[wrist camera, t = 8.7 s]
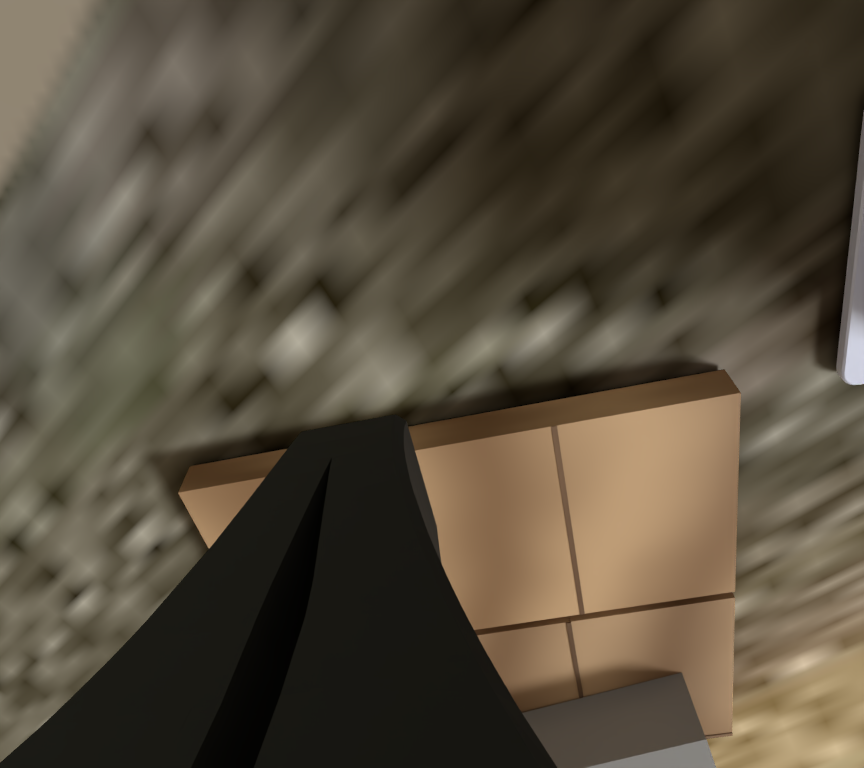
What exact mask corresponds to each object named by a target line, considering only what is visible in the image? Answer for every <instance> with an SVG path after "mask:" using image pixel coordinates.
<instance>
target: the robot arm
mask: <svg viewBox="0 0 864 768" xmlns="http://www.w3.org/2000/svg"><path fill="white" fill-rule="evenodd" d="M836 370H837V374H838V375H839V376H840V377H841V378H842V379H843V380H844V381H845V382H846V383H848V384H851V385H860V384H864V112H863V122H862V131H861V140H860V150H859V159H858V168H857V178H856V187H855V196H854V206H853V215H852V224H851V234H850V243H849V252H848V262H847V271H846V281H845V290H844V299H843V309H842V318H841V327H840V337H839V346H838V355H837V365H836ZM0 768H557V766H556V765H555V763H554V762H553V760H552V758H551V757H550V755H549V754H548V752H547V751H546V749H545V748H544V746H543V745H542V743H541V741H540V740H539V738H538V737H537V735H536V734H535V732H534V731H533V729H532V728H531V726H530V724H529V723H528V721H527V720H526V718H525V717H524V715H523V714H522V712H521V710H520V709H519V707H518V706H517V704H516V702H515V701H514V699H513V697H512V696H511V694H510V692H509V691H508V689H507V687H506V685H505V684H504V682H503V680H502V679H501V677H500V675H499V673H498V672H497V670H496V668H495V667H494V665H493V663H492V661H491V660H490V658H489V656H488V655H487V653H486V651H485V649H484V647H483V645H482V644H481V642H480V640H479V638H478V636H477V634H476V632H475V631H474V629H473V627H472V625H471V623H470V621H469V620H468V618H467V616H466V614H465V612H464V610H463V608H462V606H461V604H460V602H459V600H458V598H457V596H456V594H455V592H454V590H453V588H452V586H451V584H450V581H449V579H448V577H447V575H446V573H445V570H444V568H443V566H442V562H441V556H440V549H439V540H438V532H437V525H436V521H435V518H434V515H433V511H432V508H431V504H430V501H429V497H428V494H427V490H426V487H425V483H424V480H423V477H422V473H421V470H420V466H419V463H418V459H417V456H416V452H415V449H414V445H413V442H412V439H411V435H410V432H409V428H408V425H407V421H406V420H404V419H402V418H401V417H399V416H397V415H396V414H395V415H390V416H384V417H379V418H373V419H368V420H363V421H357V422H352V423H346V424H341V425H335V426H330V427H325V428H319V429H314V430H308V431H303V432H301V433H300V434H299V435H298V437H297V438H296V439H295V440H294V441H293V443H292V444H291V445H290V446H289V448H288V449H287V450H286V451H285V453H284V454H283V455H282V456H281V458H280V459H279V460H278V462H277V463H276V464H275V466H274V467H273V468H272V470H271V471H270V472H269V473H268V475H267V476H266V477H265V479H264V480H263V481H262V483H261V484H260V485H259V486H258V488H257V489H256V490H255V492H254V493H253V494H252V496H251V497H250V498H249V499H248V501H247V502H246V503H245V504H244V506H243V507H242V508H241V509H240V511H239V512H238V513H237V515H236V516H235V517H234V518H233V520H232V521H231V522H230V523H229V525H228V526H227V527H226V528H225V530H224V531H223V532H222V533H221V535H220V536H219V537H218V539H217V540H216V541H215V542H214V544H213V545H212V546H211V547H210V548H209V550H208V551H207V552H206V553H205V554H204V555H203V557H202V558H201V559H200V560H199V561H198V562H197V564H196V565H195V566H194V567H193V568H192V569H191V570H190V572H189V573H188V574H187V575H186V576H185V577H184V578H183V580H182V581H181V582H180V583H179V584H178V585H177V587H176V588H175V589H174V590H173V591H172V592H171V593H170V595H169V596H168V597H167V598H166V599H165V600H164V601H163V603H162V604H161V605H160V606H159V607H158V608H157V610H156V611H155V612H154V613H153V614H152V615H151V616H150V618H149V619H148V620H147V621H146V622H145V623H144V624H143V625H142V626H141V627H140V629H139V630H138V631H137V632H136V633H135V634H134V635H133V636H132V637H131V638H130V639H129V640H128V641H127V642H126V643H125V644H124V645H123V647H122V648H121V649H120V650H119V651H118V652H117V653H116V654H115V655H114V656H113V657H112V658H111V659H110V660H109V661H108V662H107V663H106V664H105V665H104V666H103V667H102V668H101V669H100V670H99V671H98V672H97V673H96V674H95V675H94V676H93V677H92V678H91V679H90V680H89V681H88V682H87V683H86V684H85V685H84V686H83V687H82V688H81V689H80V690H79V691H78V692H77V693H76V694H75V695H74V696H73V697H72V698H71V699H70V700H68V701H67V702H66V703H65V704H64V705H63V706H62V707H61V708H60V709H59V710H58V711H57V712H56V713H55V714H54V715H53V716H52V717H51V718H50V719H49V720H48V721H47V722H45V723H44V724H43V725H42V726H41V727H40V728H39V729H38V730H37V731H36V732H34V733H33V734H32V735H31V736H30V737H29V738H28V739H27V740H25V741H24V742H23V743H22V744H21V745H20V746H19V747H17V748H16V749H15V750H14V751H13V752H12V753H11V754H10V755H8V756H7V757H6V758H5V759H4V760H3V761H2V762H0Z"/></svg>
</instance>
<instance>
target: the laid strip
mask: <svg viewBox="0 0 864 768" xmlns="http://www.w3.org/2000/svg"><path fill="white" fill-rule="evenodd" d="M734 614H735V597H734V595H733V593H732V592H728V593H722V594H715V595H708V596H701V597H695V598H688V599H681V600H674V601H668V602H661V603H654V604H647V605H640V606H634V607H627V608H620V609H613V610H607V611H600V612H593V613H586V614H583V615H580V614H579V615H573V616H566V617H559V618H552V619H546V620H539V621H532V622H525V623H519V624H512V625H505V626H498V627H491V628H485V629H478V630H474V631H475V632H476V634H477V636H478V638H479V640H480V642H481V644H482V645H483V647H484V649H485V651H486V653H487V655H488V656H489V658H490V660H491V661H492V663H493V665H494V667H495V668H496V670H497V672H498V673H499V675H500V677H501V679H502V680H503V682H504V684H505V685H506V687H507V689H508V691H509V692H510V694H511V696H512V697H513V699H514V701H515V702H516V704H517V706H518V707H519V709H520V710H521V712H522V713H524V712H528V711H532V710H536V709H539V708H543V707H547V706H551V705H555V704H559V703H563V702H567V701H571V700H575V699H579V698H583V697H587V696H591V695H595V694H599V693H603V692H607V691H611V690H615V689H619V688H622V687H626V686H630V685H634V684H638V683H642V682H646V681H650V680H654V679H658V678H662V677H666V676H670V675H674V674H678V673H682V674H683V677H684V680H685V682H686V685H687V688H688V691H689V693H690V696H691V699H692V702H693V704H694V707H695V710H696V713H697V715H698V718H699V721H700V724H701V726H702V729H703V732H704V735H705V737H706V739H708V738H716V737H724V736H732V709H733V662H734Z"/></svg>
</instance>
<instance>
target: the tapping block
mask: <svg viewBox="0 0 864 768" xmlns="http://www.w3.org/2000/svg"><path fill="white" fill-rule="evenodd" d="M522 714H523V715H524V717H525V718H526V720H527V721H528V723H529V724H530V726H531V728H532V729H533V731H534V732H535V734H536V735H537V737H538V738H539V740H540V741H541V743H542V745H543V746H544V748H545V749H546V751H547V752H548V754H549V755H550V757H551V758H552V760H553V762H554V763H555V765H556V766H557V768H716V766H715V763H714V760H713V757H712V754H711V752H710V749H709V746H708V743H707V740H706V737H705V735H704V732H703V729H702V726H701V724H700V721H699V718H698V715H697V713H696V710H695V707H694V704H693V702H692V699H691V696H690V693H689V691H688V688H687V685H686V682H685V680H684V677H683V674H682V673H678V674H674V675H670V676H666V677H662V678H658V679H654V680H650V681H646V682H642V683H638V684H634V685H630V686H626V687H622V688H619V689H615V690H611V691H607V692H603V693H599V694H595V695H591V696H587V697H583V698H579V699H575V700H571V701H567V702H563V703H559V704H555V705H551V706H547V707H543V708H539V709H536V710H532V711H528V712H524V713H522Z"/></svg>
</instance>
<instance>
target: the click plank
mask: <svg viewBox="0 0 864 768" xmlns="http://www.w3.org/2000/svg"><path fill="white" fill-rule="evenodd" d="M740 400H741V393H740V391H739V390H738V388H737V387H736V385H735V384H734V382H733V381H732V380H731V378H730V377H729V375H728V374H727V372H726V371H725V370H724V369H723V370H718V371H712V372H707V373H701V374H696V375H690V376H685V377H679V378H674V379H668V380H663V381H657V382H652V383H646V384H641V385H635V386H630V387H624V388H619V389H613V390H608V391H602V392H597V393H591V394H586V395H580V396H575V397H569V398H564V399H558V400H553V401H547V402H542V403H536V404H530V405H525V406H519V407H514V408H508V409H503V410H497V411H492V412H486V413H481V414H475V415H470V416H464V417H459V418H453V419H448V420H442V421H437V422H431V423H426V424H420V425H415V426H409V427H408V428H409V432H410V435H411V439H412V442H413V445H414V449H415V452H416V456H417V459H418V463H419V466H420V470H421V473H422V477H423V480H424V483H425V487H426V490H427V494H428V497H429V501H430V504H431V508H432V511H433V515H434V518H435V521H436V525H437V532H438V540H439V549H440V556H441V562H442V566H443V568H444V570H445V573H446V575H447V577H448V579H449V581H450V584H451V586H452V588H453V590H454V592H455V594H456V596H457V598H458V600H459V602H460V604H461V606H462V608H463V610H464V612H465V614H466V616H467V618H468V620H469V621H470V623H471V625H472V627H473V629H474V630H478V629H485V628H491V627H498V626H505V625H512V624H519V623H525V622H532V621H539V620H546V619H552V618H559V617H566V616H573V615H579V614H580V615H583V614H586V613H593V612H600V611H607V610H613V609H620V608H627V607H634V606H640V605H647V604H654V603H661V602H668V601H674V600H681V599H688V598H695V597H701V596H708V595H715V594H722V593H728V592H735V573H736V539H737V504H738V469H739V435H740ZM286 450H287V449H283V450H277V451H272V452H266V453H261V454H255V455H250V456H244V457H239V458H233V459H228V460H222V461H217V462H211V463H206V464H200V465H194V466H190V467H189V469H188V471H187V474H186V476H185V478H184V480H183V483H182V485H181V487H180V489H179V492H178V494H179V495H180V497H181V499H182V501H183V503H184V504H185V506H186V508H187V510H188V512H189V514H190V515H191V517H192V519H193V521H194V523H195V524H196V526H197V528H198V530H199V532H200V534H201V535H202V537H203V539H204V541H205V543H206V544H207V546H208V548H210V547H211V546H212V545H213V544H214V542H215V541H216V540H217V539H218V537H219V536H220V535H221V533H222V532H223V531H224V530H225V528H226V527H227V526H228V525H229V523H230V522H231V521H232V520H233V518H234V517H235V516H236V515H237V513H238V512H239V511H240V509H241V508H242V507H243V506H244V504H245V503H246V502H247V501H248V499H249V498H250V497H251V496H252V494H253V493H254V492H255V490H256V489H257V488H258V486H259V485H260V484H261V483H262V481H263V480H264V479H265V477H266V476H267V475H268V473H269V472H270V471H271V470H272V468H273V467H274V466H275V464H276V463H277V462H278V460H279V459H280V458H281V456H282V455H283V454H284V453H285V451H286Z"/></svg>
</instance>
